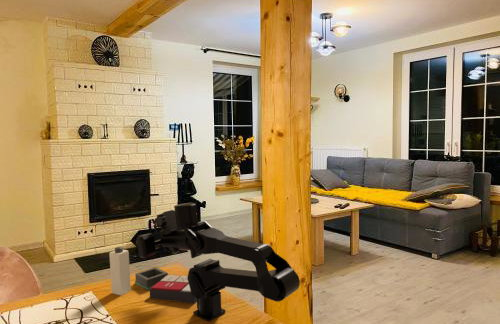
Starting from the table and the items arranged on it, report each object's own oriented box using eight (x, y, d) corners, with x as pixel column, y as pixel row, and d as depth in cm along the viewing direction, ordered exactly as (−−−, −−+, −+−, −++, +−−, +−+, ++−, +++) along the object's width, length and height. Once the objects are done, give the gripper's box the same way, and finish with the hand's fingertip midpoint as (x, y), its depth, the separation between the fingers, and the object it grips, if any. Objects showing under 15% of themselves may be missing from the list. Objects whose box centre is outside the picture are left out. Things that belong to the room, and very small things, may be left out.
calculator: (167, 273, 122) (208, 275, 118) (168, 286, 122) (209, 288, 118) (148, 287, 112) (193, 290, 107) (149, 301, 112) (194, 304, 107)
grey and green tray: (169, 282, 123) (168, 272, 123) (147, 290, 117) (146, 280, 117) (156, 276, 128) (155, 266, 128) (135, 283, 123) (134, 273, 123)
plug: (130, 290, 117) (128, 246, 116) (121, 295, 114) (118, 250, 113) (121, 288, 119) (119, 245, 118) (111, 293, 116) (109, 249, 114)
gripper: (201, 206, 113) (169, 207, 123) (151, 218, 99) (119, 219, 109) (207, 242, 113) (174, 241, 123) (157, 259, 99) (124, 257, 108)
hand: (149, 238), depth 116 cm, fingers open, 9 cm apart
